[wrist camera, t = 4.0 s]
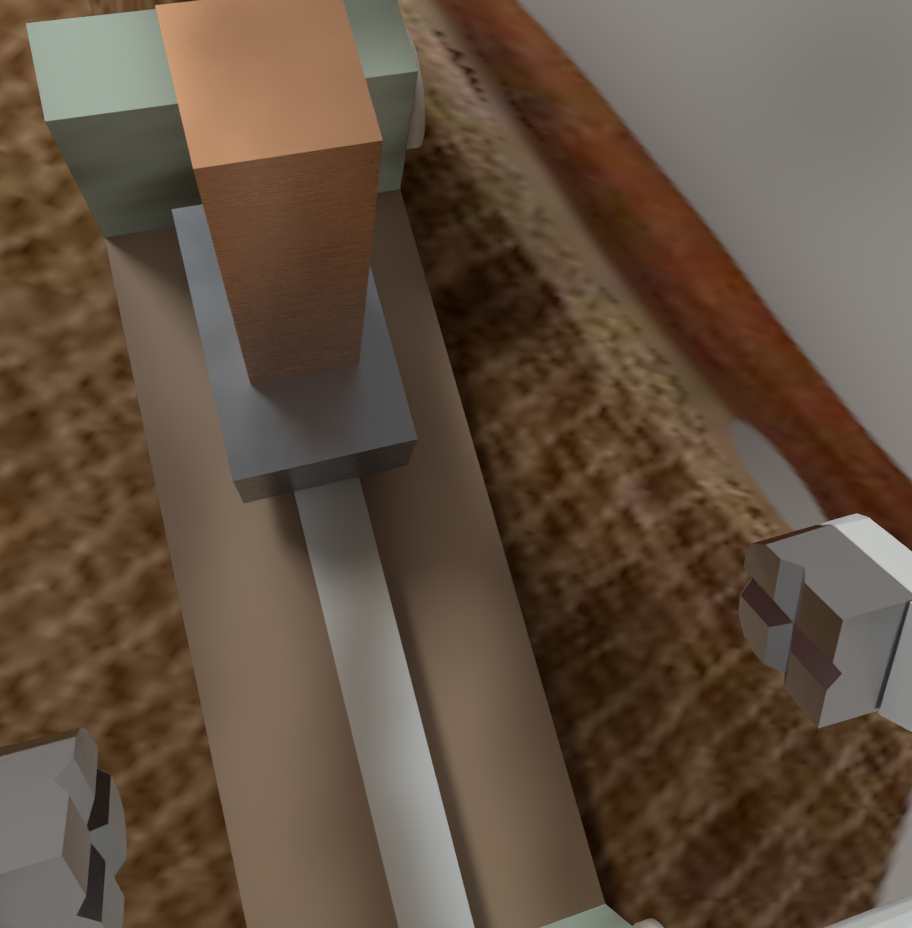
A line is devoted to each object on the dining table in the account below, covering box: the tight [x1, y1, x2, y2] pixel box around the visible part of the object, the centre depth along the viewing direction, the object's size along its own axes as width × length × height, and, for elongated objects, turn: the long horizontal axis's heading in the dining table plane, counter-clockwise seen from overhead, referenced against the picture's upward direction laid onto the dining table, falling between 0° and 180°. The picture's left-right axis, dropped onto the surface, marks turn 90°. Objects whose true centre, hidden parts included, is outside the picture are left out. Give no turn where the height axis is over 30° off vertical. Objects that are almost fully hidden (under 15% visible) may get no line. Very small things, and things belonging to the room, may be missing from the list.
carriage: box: [155, 0, 417, 503], centre depth 20 cm, size 5×8×13 cm, turn 16°
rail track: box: [26, 0, 664, 928], centre depth 24 cm, size 10×31×8 cm, turn 16°
